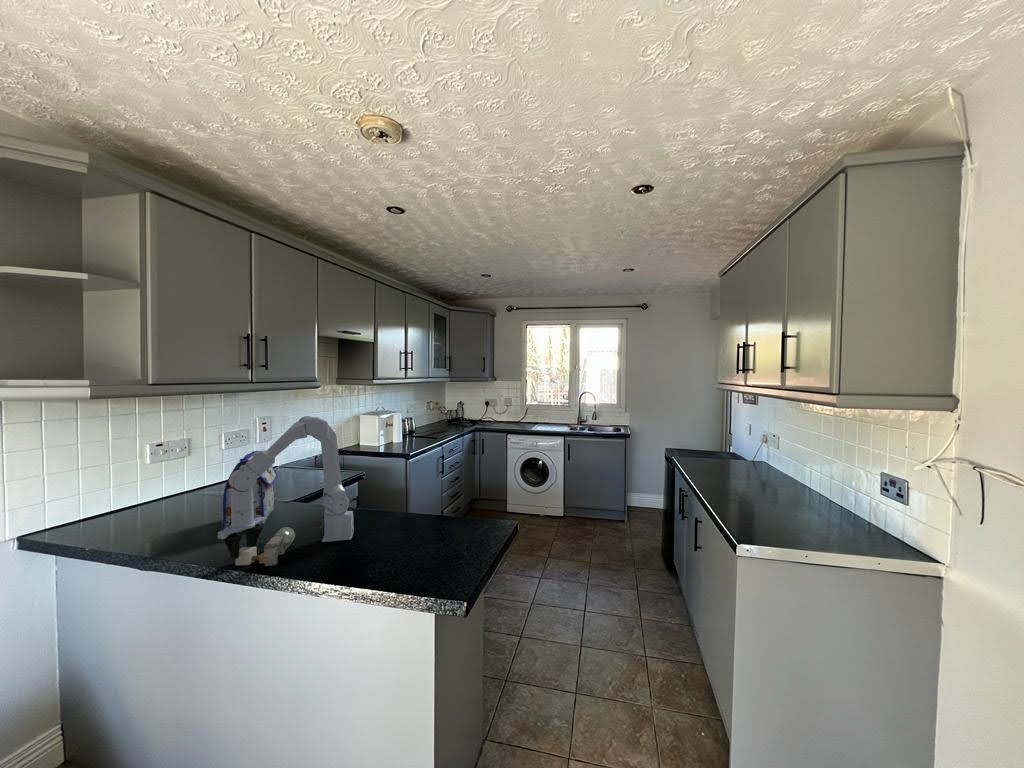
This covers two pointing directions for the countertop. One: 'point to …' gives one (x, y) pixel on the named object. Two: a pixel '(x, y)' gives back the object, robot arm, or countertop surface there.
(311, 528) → the countertop surface
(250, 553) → the plug
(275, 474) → the lunch bag
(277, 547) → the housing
